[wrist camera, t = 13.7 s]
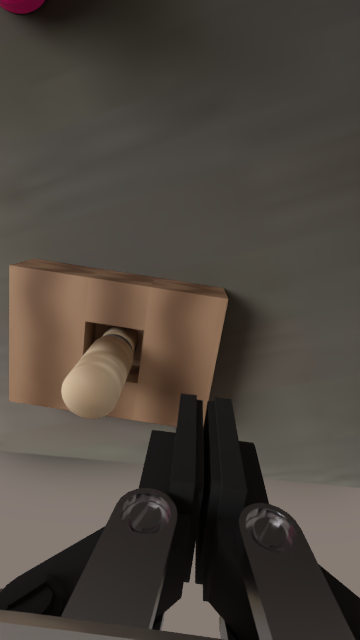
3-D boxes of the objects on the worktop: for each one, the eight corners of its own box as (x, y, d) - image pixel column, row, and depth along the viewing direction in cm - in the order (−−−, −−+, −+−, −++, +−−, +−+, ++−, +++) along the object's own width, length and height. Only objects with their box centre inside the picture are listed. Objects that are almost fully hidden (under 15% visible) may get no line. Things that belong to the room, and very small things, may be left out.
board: (223, 288, 36) (228, 299, 31) (201, 405, 40) (202, 430, 35) (34, 258, 36) (9, 265, 31) (31, 378, 40) (9, 401, 35)
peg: (143, 323, 36) (120, 372, 25) (138, 359, 37) (115, 422, 26) (103, 317, 36) (63, 363, 24) (100, 353, 37) (60, 414, 26)
